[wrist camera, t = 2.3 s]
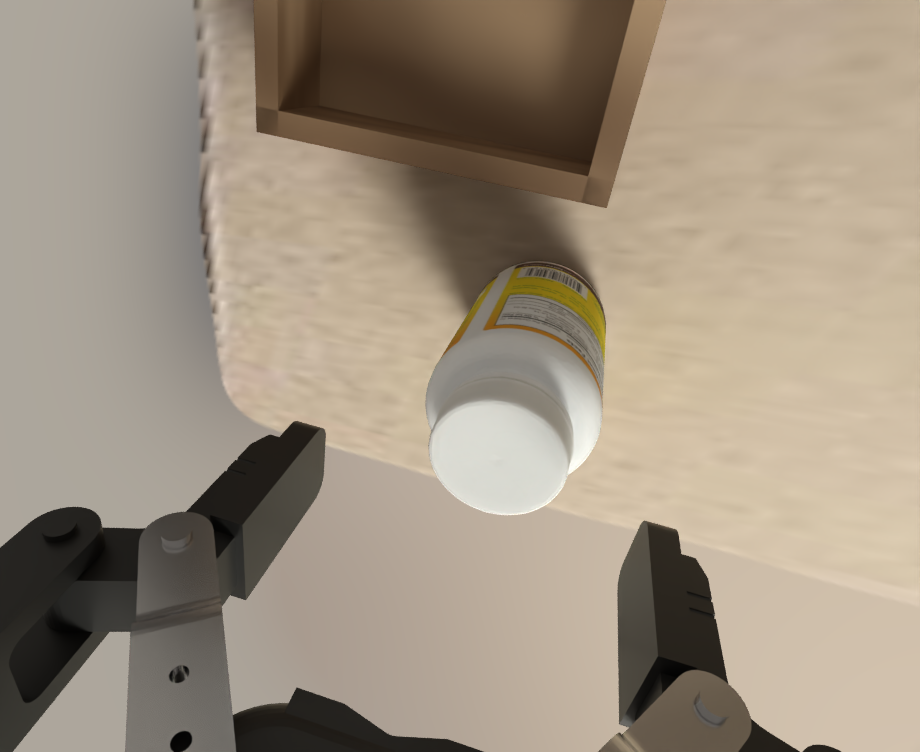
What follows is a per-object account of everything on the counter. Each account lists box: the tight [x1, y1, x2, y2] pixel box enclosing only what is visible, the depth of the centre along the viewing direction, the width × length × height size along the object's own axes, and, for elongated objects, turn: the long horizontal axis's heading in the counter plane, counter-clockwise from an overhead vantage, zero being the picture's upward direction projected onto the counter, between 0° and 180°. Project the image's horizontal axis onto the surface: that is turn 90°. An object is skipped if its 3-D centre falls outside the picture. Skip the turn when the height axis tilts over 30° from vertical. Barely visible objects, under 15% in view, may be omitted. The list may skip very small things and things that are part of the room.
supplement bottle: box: [426, 261, 606, 515], centre depth 20 cm, size 6×6×10 cm
